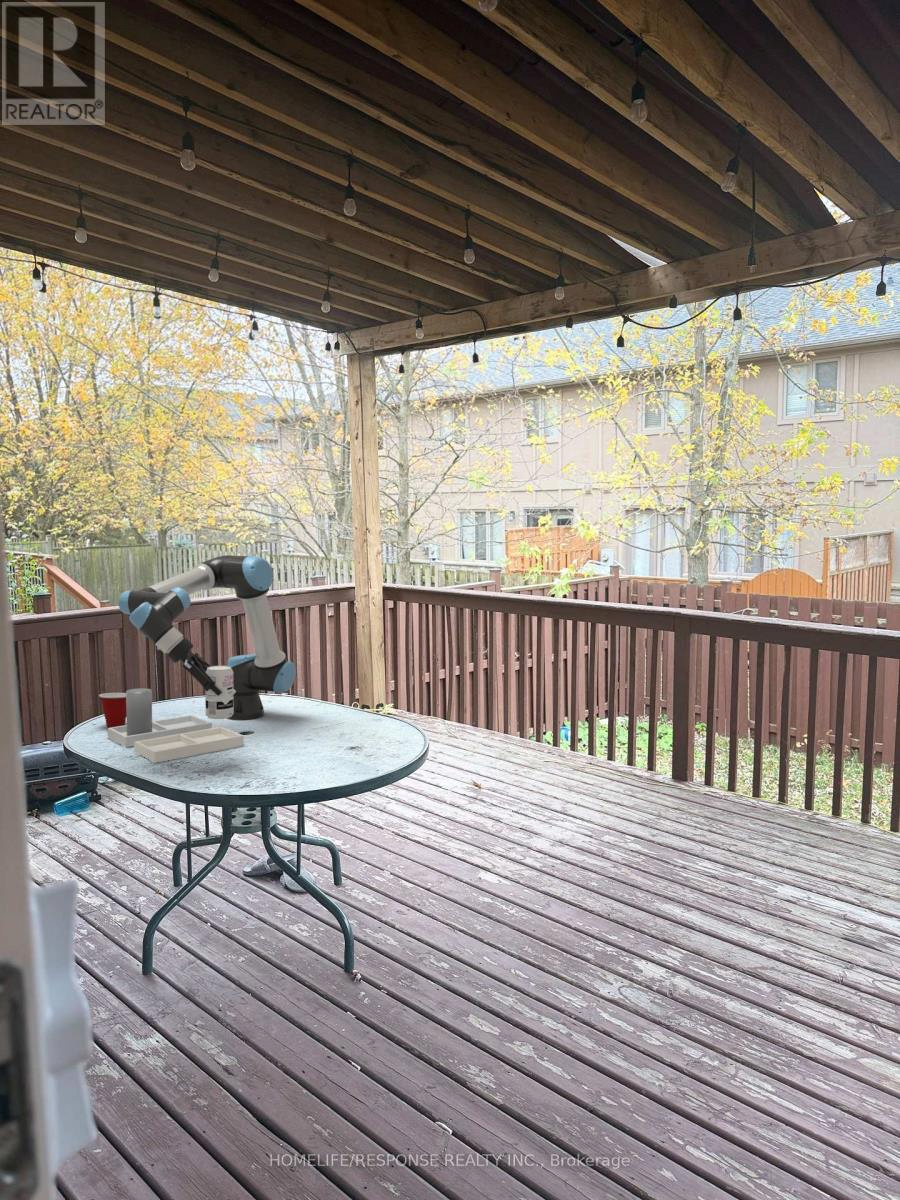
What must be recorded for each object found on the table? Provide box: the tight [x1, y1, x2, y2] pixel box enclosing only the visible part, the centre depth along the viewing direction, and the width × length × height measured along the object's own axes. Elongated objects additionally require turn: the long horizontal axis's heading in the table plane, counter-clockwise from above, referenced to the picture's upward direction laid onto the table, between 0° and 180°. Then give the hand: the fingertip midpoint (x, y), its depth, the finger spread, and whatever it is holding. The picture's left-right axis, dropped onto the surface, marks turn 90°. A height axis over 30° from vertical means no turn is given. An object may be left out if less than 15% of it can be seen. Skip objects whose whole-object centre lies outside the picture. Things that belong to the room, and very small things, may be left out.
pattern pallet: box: [107, 687, 213, 748], centre depth 272 cm, size 30×15×16 cm, turn 134°
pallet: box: [133, 726, 245, 764], centre depth 257 cm, size 30×15×4 cm, turn 134°
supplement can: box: [204, 665, 234, 720], centre depth 241 cm, size 8×8×15 cm
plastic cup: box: [98, 692, 127, 729], centre depth 283 cm, size 11×11×12 cm
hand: (230, 697), depth 241 cm, fingers closed on supplement can, 8 cm apart
